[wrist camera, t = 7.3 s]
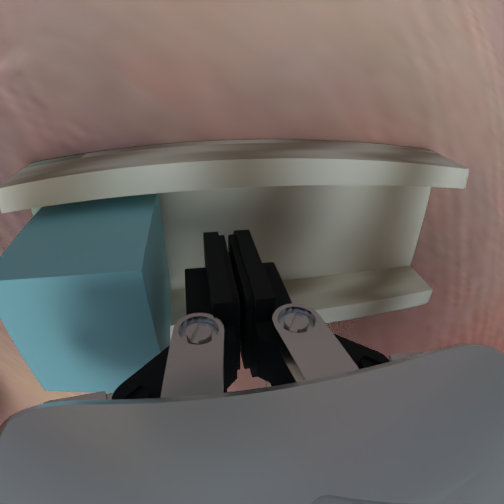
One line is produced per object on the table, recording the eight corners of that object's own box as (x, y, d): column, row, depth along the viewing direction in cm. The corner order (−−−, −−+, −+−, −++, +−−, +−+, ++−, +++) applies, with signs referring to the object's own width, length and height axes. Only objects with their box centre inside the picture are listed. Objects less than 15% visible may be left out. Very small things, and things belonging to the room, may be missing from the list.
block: (158, 185, 12) (141, 270, 7) (170, 286, 15) (171, 390, 10) (49, 198, 12) (-17, 281, 6) (75, 292, 14) (44, 390, 9)
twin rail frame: (428, 149, 15) (469, 169, 12) (399, 271, 19) (427, 303, 16) (29, 163, 11) (-5, 189, 9) (68, 302, 16) (53, 345, 13)
